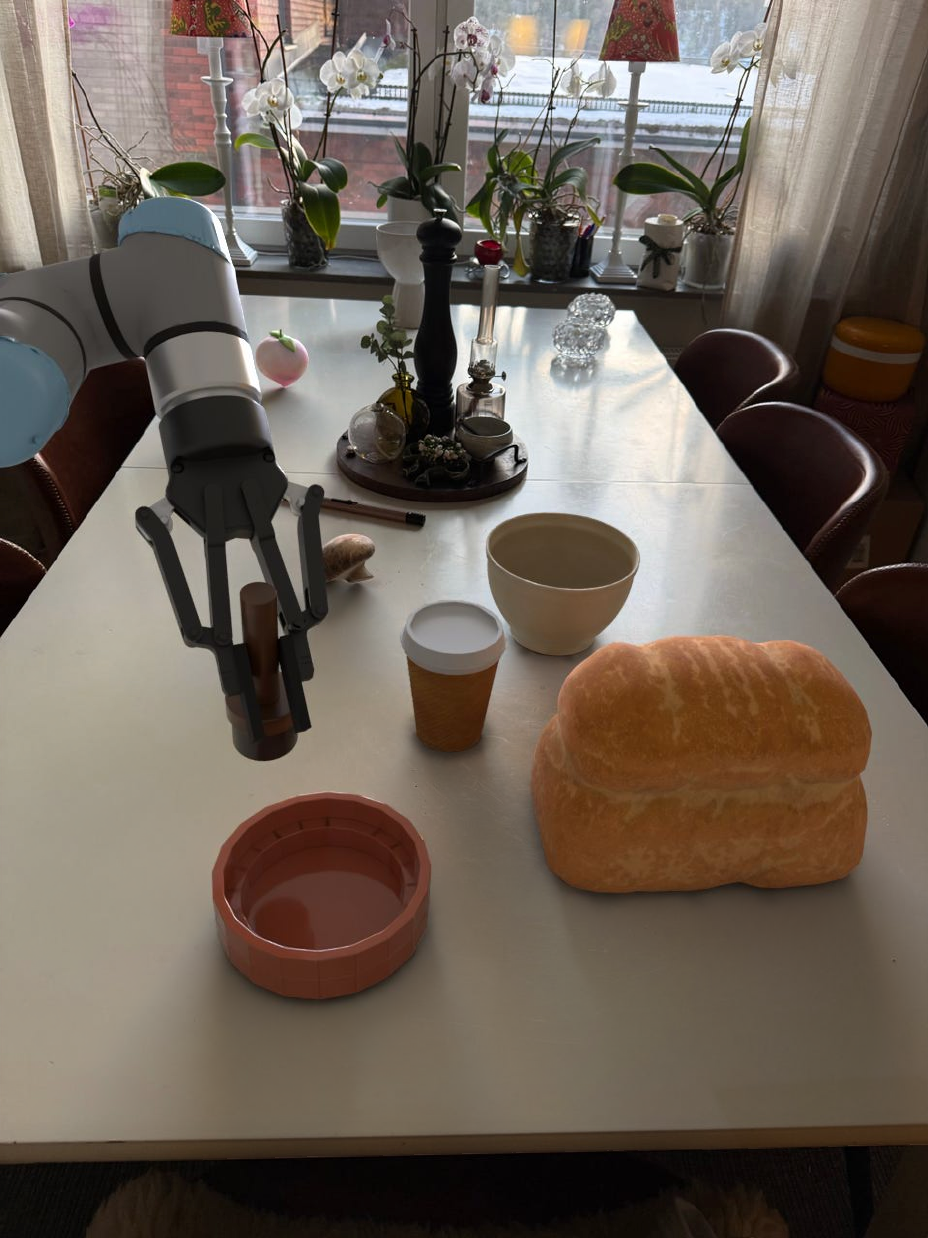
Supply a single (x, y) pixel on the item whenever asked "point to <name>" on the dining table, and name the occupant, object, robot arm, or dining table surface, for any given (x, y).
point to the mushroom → (347, 558)
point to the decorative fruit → (281, 358)
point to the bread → (703, 768)
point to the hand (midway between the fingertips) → (280, 735)
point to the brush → (262, 678)
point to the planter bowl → (559, 578)
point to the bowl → (321, 894)
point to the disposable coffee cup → (452, 670)
